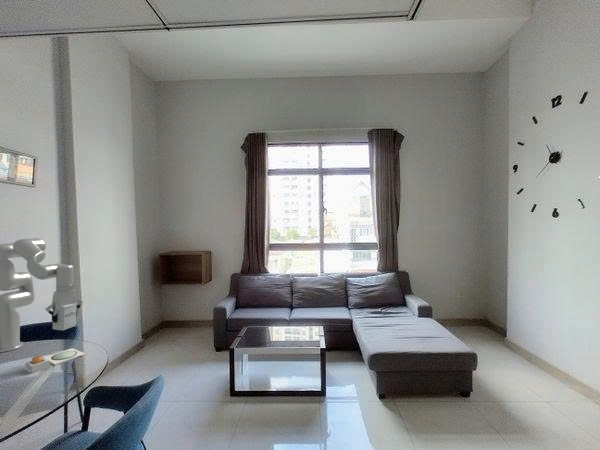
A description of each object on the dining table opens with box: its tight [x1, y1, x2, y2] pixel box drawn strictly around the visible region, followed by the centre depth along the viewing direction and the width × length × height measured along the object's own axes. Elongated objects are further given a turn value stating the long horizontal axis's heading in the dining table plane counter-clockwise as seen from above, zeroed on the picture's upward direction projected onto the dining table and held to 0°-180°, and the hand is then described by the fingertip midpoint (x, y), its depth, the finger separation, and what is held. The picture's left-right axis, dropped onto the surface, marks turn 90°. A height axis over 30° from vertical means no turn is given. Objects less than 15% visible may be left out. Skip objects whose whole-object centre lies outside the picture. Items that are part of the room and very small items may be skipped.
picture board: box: [43, 347, 86, 366], centre depth 165 cm, size 14×14×1 cm
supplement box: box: [52, 304, 77, 331], centre depth 164 cm, size 7×7×13 cm
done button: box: [31, 355, 44, 364], centre depth 152 cm, size 4×4×3 cm
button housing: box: [24, 358, 50, 373], centre depth 152 cm, size 7×7×4 cm
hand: (64, 319), depth 164 cm, fingers closed on supplement box, 8 cm apart
